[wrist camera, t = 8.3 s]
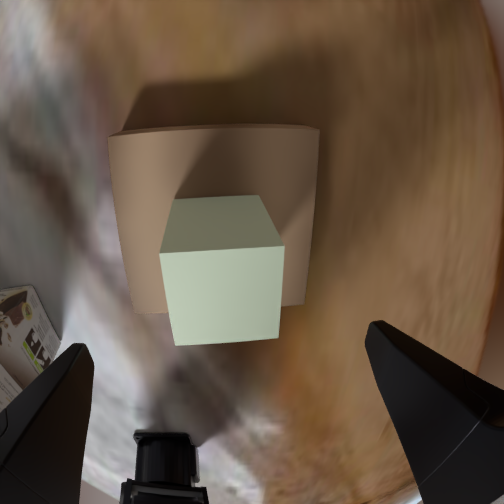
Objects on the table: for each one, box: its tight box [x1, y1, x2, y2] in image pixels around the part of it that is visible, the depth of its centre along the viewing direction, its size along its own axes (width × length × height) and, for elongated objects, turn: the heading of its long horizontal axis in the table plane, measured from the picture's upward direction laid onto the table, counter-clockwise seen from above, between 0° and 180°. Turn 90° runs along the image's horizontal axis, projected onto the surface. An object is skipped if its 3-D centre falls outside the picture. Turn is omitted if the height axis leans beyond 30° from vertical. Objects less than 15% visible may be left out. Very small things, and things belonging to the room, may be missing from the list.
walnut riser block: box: [107, 124, 320, 314], centre depth 19 cm, size 11×11×4 cm
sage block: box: [159, 195, 285, 346], centre depth 15 cm, size 4×4×6 cm
